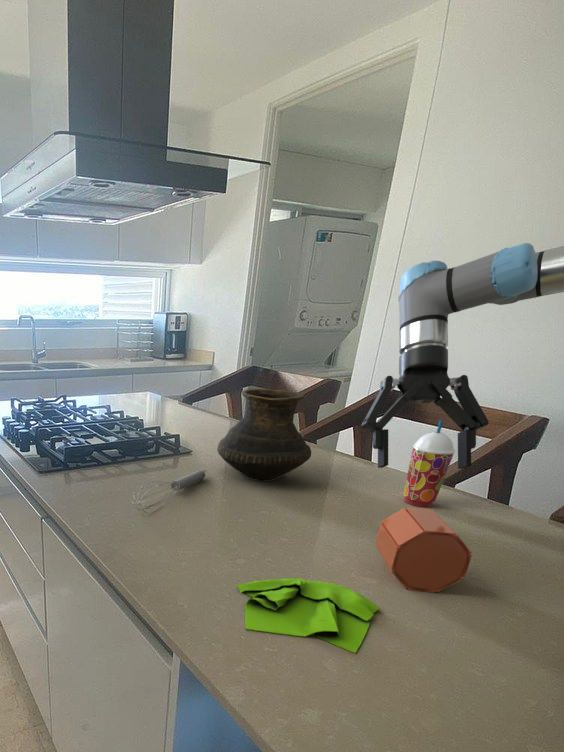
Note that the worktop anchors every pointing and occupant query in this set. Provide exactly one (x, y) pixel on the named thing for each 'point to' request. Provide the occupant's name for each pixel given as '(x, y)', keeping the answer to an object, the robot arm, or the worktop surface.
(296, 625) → the cloth
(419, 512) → the cup
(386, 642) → the worktop surface
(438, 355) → the robot arm
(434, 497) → the smoothie
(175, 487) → the kitchen whisk
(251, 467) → the ceramic pot
